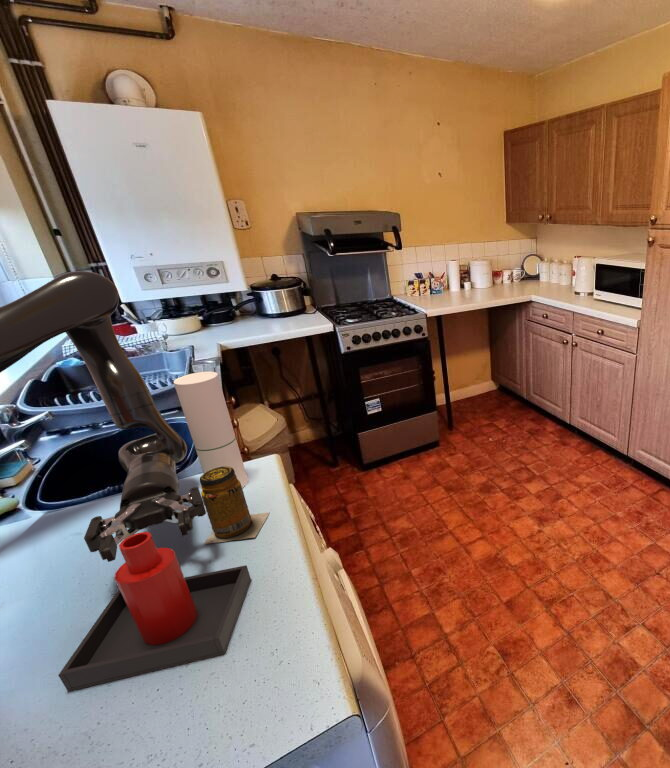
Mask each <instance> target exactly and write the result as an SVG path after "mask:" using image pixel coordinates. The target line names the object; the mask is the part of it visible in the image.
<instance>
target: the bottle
mask: <svg viewBox="0 0 670 768" xmlns="http://www.w3.org/2000/svg"><path fill="white" fill-rule="evenodd" d="M153 538H154V537H153V536H152V534H151V532H150V531H149V532H148V531H141V532H136V533H135V534H134V535H131V536H129V537H128V538H126V539H124V540H122V541H121V542H120V543H119V544H118V548H119V550H120V553H121V555H122V557H123V559H124V562H123V564H122V565H120V566H119V567H118V569H117V570H116V572H115V573H114V581H115V582H116V585H117V587H118V589H119V590H120V591H121V594H122V596H123V598H124V600H125V602H126V604H127V606H128V609H129V611H130V613H131V615H132V617H133V619H134V621H135V624H136V626H137V628H138V630H139V632H140V634H141V637H142V638H143V639H144V641H145V643H147V644H149V645H160V644H164V643H167V642H170V641H172V640H174V639H176V638H178V637H179V636H181V635H182V634H184V633H185V632H186V631H187V630H188V629H189V628H190V627H191V626H192V625H193V624H194V622H195V620H196V618H197V610H196V606H195V604H194V601H193V599H192V596H191V593H190V591H189V588H188V586H187V583H186V581H185V578H184V577H185V576H184V573H183V570H182V568H181V565H180V562H179V560H178V558H177V555H176V552H175V551H174V550H173V549H171V548H170V547H158V548H157V546H156V543H155V541H154V539H153Z"/></svg>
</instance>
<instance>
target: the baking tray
mask: <svg viewBox="0 0 670 768" xmlns="http://www.w3.org/2000/svg"><path fill="white" fill-rule="evenodd" d="M184 578H185V581H186V583H187V586H188V588H189V591H190V593H191V596H192V599H193V601H194V604H195V606H196V610H197V618H196V620H195V622H194V624H193V625H192V626H191V627H190V628H189V629H188V630H187V631H186V632H185V633H184V634H182V635H181V636H179V637H178V638H176V639H174V640H172V641H170V642H167V643H164V644H160V645H149V644H147V643H145V641H144V639H143V638H142V637H141V634H140V632H139V630H138V628H137V626H136V624H135V621H134V619H133V617H132V615H131V613H130V611H129V609H128V606H127V604H126V602H125V600H124V598H123V596H122V594H121V591H120V589H119V590H117V591H116V592H115V593H114V595H113V597H111V599H110V600H109V601H108V604H107V605H106V606H105V607H104V609H103V610H102V612H101V613H100V615H99V617H98V618H97V619H96V621H95V622H94V624H93V625H92V626H91V628H90V629H89V631H88V632H87V633H86V635H85V636H84V638H83V639H82V641H81V642H80V644H79V645H78V646H77V648H76V649H75V651H74V652H73V653H72V655H71V656H70V657H69V659H68V661H67V662H66V664H65V665H64V666H63V667H62V669H61V671H60V672H59V673H58V678H59V679H60V682H61V683H62V684H63V686H64V687H65V690H66V691H67V692H73V691H77V690H81V689H85V688H89V687H94V686H98V685H102V684H107V683H111V682H115V681H119V680H122V679H127V678H132V677H136V676H140V675H144V674H148V673H152V672H157V671H160V670H165V669H169V668H173V667H177V666H181V665H186V664H189V663H193V662H197V661H202V660H207V659H209V658H214V657H218V656H222V655H225V654H226V652H227V648H228V646H229V643H230V640H231V638H232V635H233V632H234V629H235V627H236V623H237V621H238V618H239V615H240V612H241V610H242V606H243V604H244V600H245V599H246V595H247V592H248V590H249V586H250V584H251V581H252V578H251V575H250V572H249V568H248V566H247V565H240V566H235V567H231V568H226V569H221V570H216V571H215V570H214V571H211V572H205V573H200V574H195V575H191V576H190V575H189V576H184Z"/></svg>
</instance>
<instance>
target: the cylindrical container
mask: <svg viewBox="0 0 670 768" xmlns="http://www.w3.org/2000/svg"><path fill="white" fill-rule="evenodd" d="M220 381H221V380H220V377H219V375H218V373H217V372H215V371H198V372H193V373H189V374H185V375H182V376H179V377H178V378H176V379H174V380H173V385H174V388H175V391H176V394H177V397H178V400H179V403H180V406H181V410H182V413H183V415H184V419H185V421H186V424H187V428H188V431H189V433H190V436H191V439H192V442H193V446H194V449H195V452H196V455H197V458H198V462H199V464H200V468H201V470H202V474H204V473H205V472H207V471H209V470H211V469H214V468H218V467H223V466H226V467H231V468H233V469H234V471H235V475H236V477H237V479H238V480H239V481H240V483H241V486H242V489H244V488H245V487H246V486H247V485H248V483H249V479H248V475H247V471H246V468H245V464H244V461H243V457H242V454H241V451H240V448H239V444H238V440H237V436H236V433H235V430H234V427H233V423H232V420H231V416H230V413H229V409H228V406H227V402H226V399H225V396H224V391H223V389H222V385H221V382H220ZM247 482H248V483H247ZM246 484H247V485H246ZM245 485H246V486H245ZM244 486H245V487H244ZM243 487H244V488H243Z"/></svg>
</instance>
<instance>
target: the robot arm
mask: <svg viewBox="0 0 670 768" xmlns="http://www.w3.org/2000/svg"><path fill="white" fill-rule="evenodd" d="M119 302H120V294H119V291H118V288H117V287H116V285H115V284H114V282H112V281H111V280H110V278H107V277H106V276H104V275H102V274H100V273H96V272H92V271H88V270H87V271H85V270H74V271H69V272H68V271H67V272H65V273H62V274H60V275H58V276H57V277H55V278H53V279H51V280H50V281H48V282H47V283H45V284H43V285H41V286H40V287H38V288H36V289H34V290H32V291H30V292H29V293H27V294H25V295H23V296H22V297H19V298H17V299H16V300H13V301H11V302H8V303H7V304H5V305H3V306H0V374H1V373H2V372H4V371H6V370H7V369H9V368H10V367H12V366H13V365H14V364H16V363H17V362H19V361H21V360H22V359H23V358H24V357H26V356H27V355H29V354H30V353H31V352H33V351H34V350H35V349H37V348H39V347H40V346H41V345H43V344H44V343H47V342H48V341H50V340H51V339H54V338H56V337H58V336H59V335H62V334H64V333H65V335H66V336H67V337H68V338H69V339H70V341H71V342H72V344H73V345H74V347H75V349H76V350H77V352H78V353H79V355H80V357H81V358H82V360H83V362H84V364H85V366H86V368H87V369H88V372H89V373H90V376H91V378H92V380H93V382H94V384H95V386H96V388H97V390H98V393H99V395H100V397H101V399H102V401H103V403H104V405H105V407H106V409H107V412H108V414H109V416H110V418H111V421H112V423H113V424H114V425H115V427H116V428H117V429H119V430H130V429H138V428H148V429H151V431H153V432H155V433H153V434H149V435H147V436H144V437H140V438H138V439H134V440H131V441H129V442H127V443H125V444H123V445H122V446H121V447H120V448H119V450H118V452H117V453H118V454H117V459H118V462H119V464H120V466H121V467H122V469H123V471H125V472H126V477H125V479H124V482H123V486H122V490H121V491H122V492H121V497H120V502H119V510H118V511H117V512H116V513H115V514H114V516H111V517H108V518H103V517H102V515H97V516H94V517H92V518H90V522H89V524H88V526H87V529H86V531H85V534H84V536H83V540H84V542H85V544H86V546H87V548H88V549H89V552H90V553H96V552H98V554H99V555H100V558H101V559H102V560H103V561H107V562H109V563H110V562H113V561H115V560H116V558H117V551H118V546H119V545H120V543H121V542H122V541H123V540H124V539H126V538H128V537H129V536H131V535H134V534H136V533H138V532H139V531H141V530H144V529H147V528H149V527H151V526H155V525H160V524H163V523H164V522H168V523H172V524H178V528H179V531H180V534H181V537H186V536H188V535H189V532H190V531H192V530H193V520H194V518H196V517H198V518H199V517H201V518H202V517H204V516H205V515H206V514H207V512H206V507H205V505H204V502H203V499H202V495H201V491H200V488H199V486H194V487H191V488H190V489H189V492H188V493H186V494H183V495H180V494H179V491H180V490H179V489H180V482H179V479H178V478H179V477H178V475H177V463H180V462H182V461H183V460H184V459H185V458H186V456H187V452H188V447H187V443H186V441H185V440H184V439H183V438H182V436H181V435H180V434H179V433H178V432H177V431H176V430H175V429H174V428H173V427H172V425H170V424H169V422H167V420H166V419H165V417H164V416H163V414H162V413H161V412H160V410H159V408H158V407H157V404H156V402H155V400H154V398H153V396H152V393H151V392H150V389H149V387H148V385H147V383H146V381H145V380H144V378H143V376H142V375H141V373H140V372H139V371H138V369H137V368H136V366H135V365H134V364H133V363H132V361H131V360H130V359H129V357H128V356H127V354H126V352H125V351H124V350H123V347H122V346H121V345H120V342H119V340H118V338H117V335H116V333H115V329H114V326H113V322H112V317H111V316H112V314H114V312H116V310H117V308H118V305H119ZM185 503H186V504H187V505H185ZM189 505H190V506H189ZM114 534H115V536H114Z"/></svg>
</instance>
